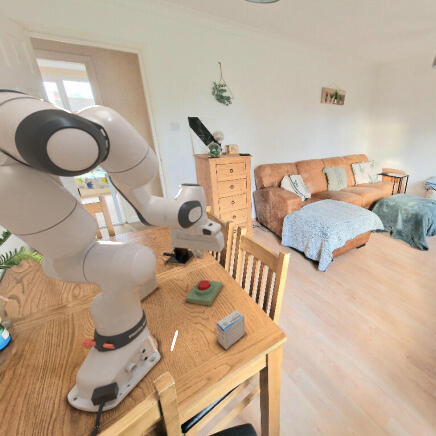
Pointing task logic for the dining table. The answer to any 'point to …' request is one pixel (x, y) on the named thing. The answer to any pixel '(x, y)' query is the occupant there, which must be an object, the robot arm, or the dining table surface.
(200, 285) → the button
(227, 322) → the medicine box
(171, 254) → the press lever
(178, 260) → the lever bracket
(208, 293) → the button block
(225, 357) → the dining table surface
